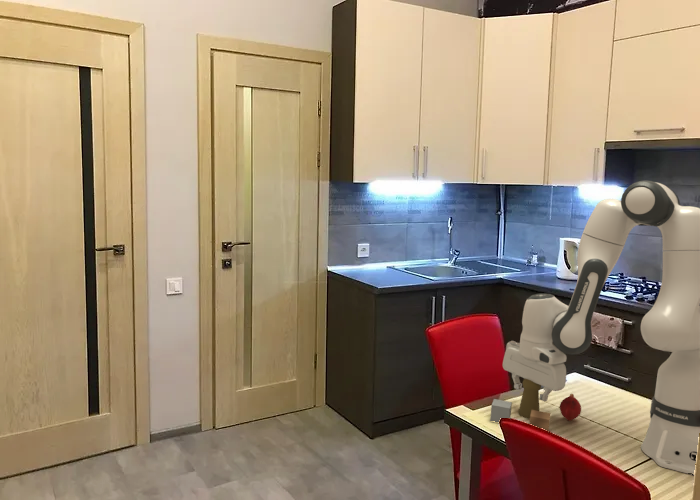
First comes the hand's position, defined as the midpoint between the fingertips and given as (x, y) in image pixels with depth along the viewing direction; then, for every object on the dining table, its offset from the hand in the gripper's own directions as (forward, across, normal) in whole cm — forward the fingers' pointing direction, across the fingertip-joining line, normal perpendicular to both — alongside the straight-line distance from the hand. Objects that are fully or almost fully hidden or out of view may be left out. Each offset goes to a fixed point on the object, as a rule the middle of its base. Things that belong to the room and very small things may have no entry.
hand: (530, 394), depth 174 cm
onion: (+6, +9, +7) cm, 13 cm away
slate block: (+6, -1, -11) cm, 13 cm away
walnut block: (+6, +10, -7) cm, 13 cm away
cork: (+6, 0, 0) cm, 6 cm away
